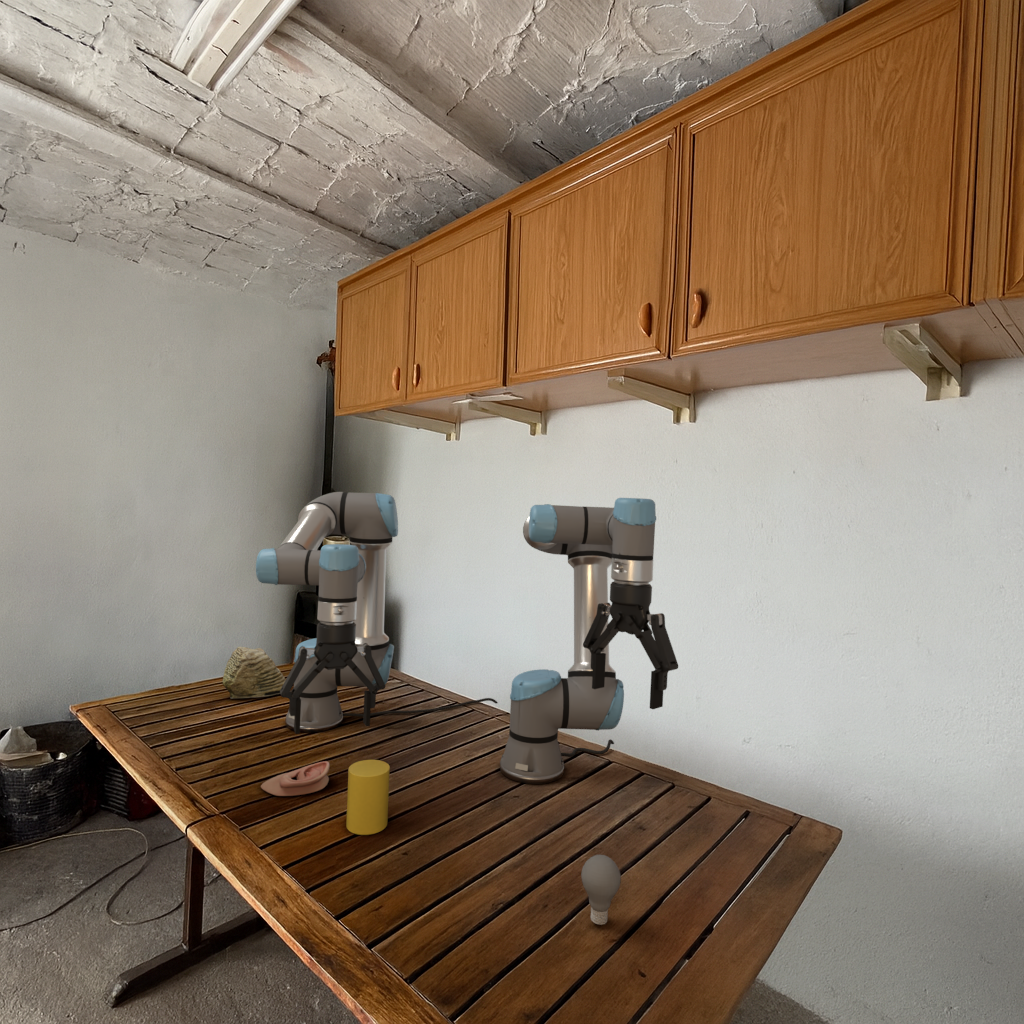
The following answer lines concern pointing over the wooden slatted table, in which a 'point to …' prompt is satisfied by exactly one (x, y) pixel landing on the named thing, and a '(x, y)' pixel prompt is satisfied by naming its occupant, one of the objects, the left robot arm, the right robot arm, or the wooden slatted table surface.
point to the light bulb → (600, 885)
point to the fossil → (252, 674)
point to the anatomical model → (299, 780)
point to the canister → (367, 797)
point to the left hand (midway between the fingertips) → (332, 728)
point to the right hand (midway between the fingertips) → (625, 697)
